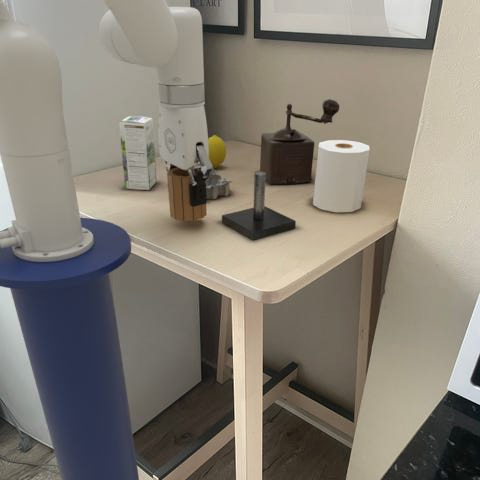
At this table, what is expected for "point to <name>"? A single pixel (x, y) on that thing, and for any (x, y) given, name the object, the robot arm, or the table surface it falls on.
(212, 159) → the lemon
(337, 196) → the toilet paper
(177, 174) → the wooden bucket
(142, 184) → the syrup box
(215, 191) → the metal cookie cutter
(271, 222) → the stand
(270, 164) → the manual coffee grinder
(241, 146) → the table surface
